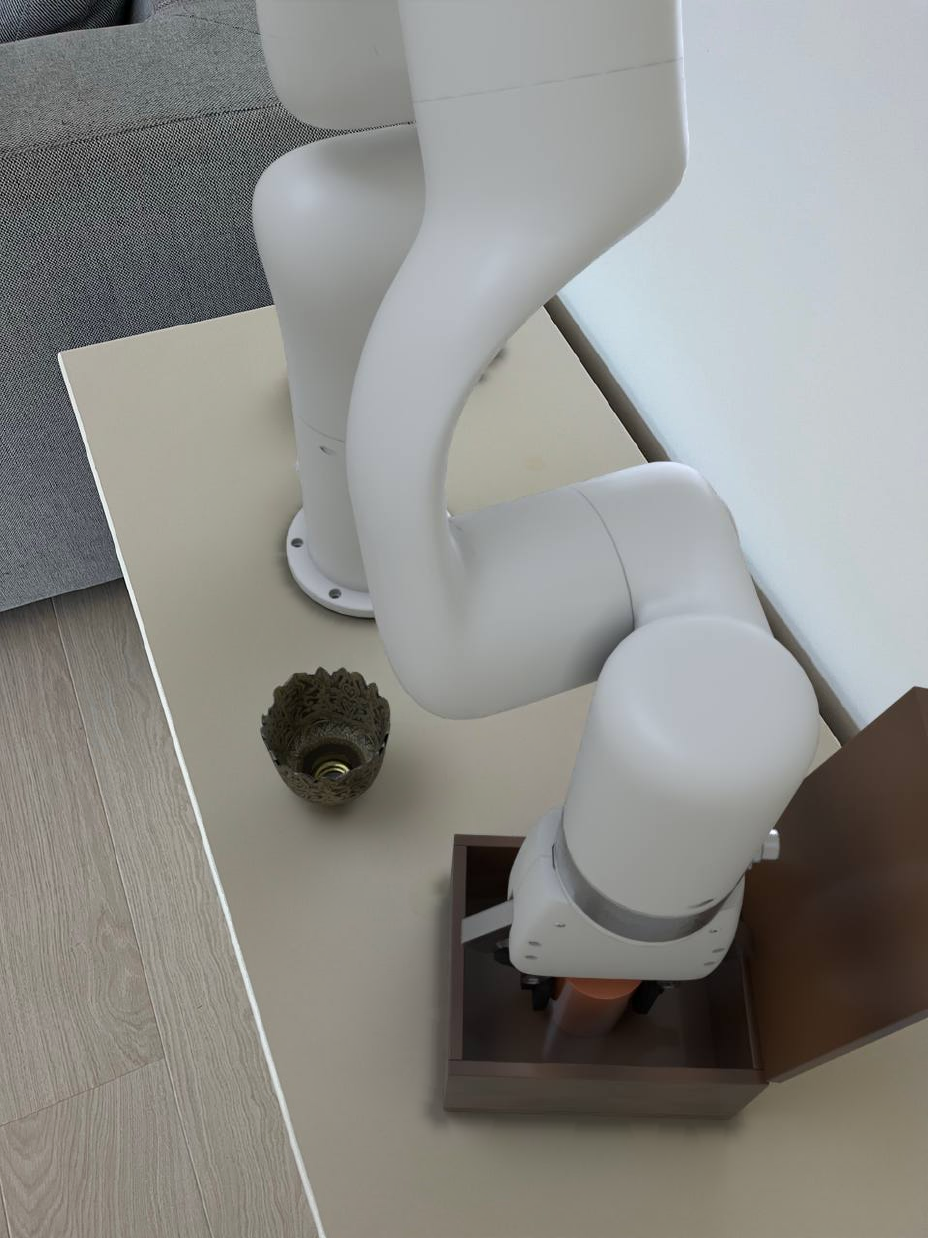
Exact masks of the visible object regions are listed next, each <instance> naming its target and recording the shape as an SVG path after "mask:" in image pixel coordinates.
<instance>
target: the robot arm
mask: <svg viewBox="0 0 928 1238" xmlns="http://www.w3.org/2000/svg"><path fill="white" fill-rule="evenodd" d="M254 1H255V9H256V17H257V24H258V31H259V37H260V43H261V48H262V53H263V58H264V61H265V66H266V70H267V74H268V76H269V79H270V82H271V85H272V88H273V90H274V93H275V95H276V96H277V98H278V99H279V101H280V103H281V104H282V106H283V108H284V109H285V110H286V111H287V112H288V113H289V114H291V115H292V116H293V117H295V118H296V120H298V121H300V122H301V123H303V124H306V125H309V126H312V127H314V128H317V129H325V130H333V131H334V130H335V131H346V130H348V131H349V130H362V129H368V130H363V131H358V132H351V133H346V134H341V135H336V136H331V137H328V138H323V139H319V140H315V141H313V142H309V143H307V144H305V145H304V144H303V145H301V146H299V147H296V148H294V149H292V150H290V151H288V152H286V153H284V154H282V155H281V156H279V158H277V159H276V160H274V161H273V162H272V163H271V164H269V166H268V167H266V168H265V170H264V171H263V173H261V175H260V177H259V179H258V181H257V182H256V185H255V188H254V192H253V196H252V203H251V204H252V205H251V217H252V226H253V234H254V238H255V242H256V247H257V252H258V254H259V258H260V261H261V265H262V268H263V271H264V275H265V278H266V282H267V284H268V287H269V291H270V294H271V298H272V301H273V305H274V308H275V311H276V316H277V319H278V324H279V328H280V333H281V338H282V343H283V349H284V356H285V363H286V371H287V378H288V387H289V392H290V393H289V394H290V395H289V396H290V402H291V411H292V412H291V413H292V420H293V421H292V422H293V429H294V439H295V447H296V455H297V460H296V461H295V463H294V468H295V470H296V471H297V472H298V474H299V481H300V490H301V500H302V507H301V508H300V509H299V510H298V512H297V513H296V514H295V516H294V518H293V520H292V522H291V524H290V526H289V528H288V532H287V537H286V556H287V563H288V567H289V570H290V572H291V575H292V577H293V579H294V581H295V582H296V583H297V585H298V586H299V588H300V589H301V590H302V591H303V592H304V593H305V594H306V595H307V596H308V597H309V598H311V600H312V601H314V602H315V603H318V604H319V605H320V606H322V607H325V608H326V609H328V610H331V611H334V612H337V613H338V614H341V615H347V616H350V617H356V618H369V619H370V618H371V619H372V618H373V619H375V623H376V627H377V630H378V634H379V636H380V640H381V642H382V646H383V649H384V653H385V655H386V658H387V662H388V663H389V665H390V668H391V670H392V672H393V674H394V676H395V678H396V679H397V681H398V683H399V685H400V686H401V687H402V689H403V691H404V692H405V693H406V694H407V695H408V697H410V699H412V701H413V702H415V704H416V705H417V706H419V707H420V708H422V710H424V711H426V712H428V713H430V714H432V715H434V716H436V717H439V718H441V719H445V720H453V721H465V720H466V721H467V720H476V719H483V718H487V717H490V716H494V715H497V714H501V713H504V712H508V711H511V710H515V709H518V708H521V707H524V706H528V705H530V704H534V703H536V702H539V701H542V700H545V699H548V698H550V697H554V696H557V695H559V694H562V693H565V692H569V691H571V690H574V689H577V688H581V687H584V686H587V685H590V684H592V683H596V684H595V686H594V690H593V693H592V698H591V701H590V705H589V709H588V713H587V717H586V721H585V724H584V729H583V732H582V736H581V740H580V744H579V747H578V751H577V755H576V759H575V763H574V767H573V771H572V773H571V777H570V780H569V781H570V782H569V785H568V788H567V792H566V796H565V800H564V803H563V805H561V806H555V807H552V808H550V809H549V810H548V811H546V812H545V813H544V814H543V815H542V816H541V817H540V818H539V819H538V820H537V822H535V824H534V825H533V827H532V828H531V829H530V831H529V832H528V834H527V835H526V836H527V837H526V839H525V840H524V842H523V844H522V846H521V848H520V850H519V853H518V855H517V857H516V860H515V862H514V865H513V867H512V871H511V874H510V878H509V886H508V900H507V901H506V902H504V903H501V904H499V905H496V906H494V907H491V908H489V909H487V910H484V911H482V912H479V913H477V914H474V915H472V916H469V917H467V918H465V919H463V920H462V924H461V945H462V946H463V947H465V948H468V949H472V950H475V951H478V952H481V953H484V954H489V953H493V954H494V960H495V961H497V962H499V963H500V964H502V965H507V966H510V967H512V968H515V969H517V970H520V971H521V990H532V1007H533V1011H543V1008H544V1009H546V1008H547V1005H548V1002H549V999H550V996H551V994H552V991H553V976H555V977H577V978H603V979H635V980H642V982H641V984H640V986H639V987H638V989H637V991H636V993H635V995H634V996H633V998H632V1005H633V1011H636V1012H637V1014H647V1013H648V1012H649V1010H650V1009H651V1007H652V1005H653V1004H654V1002H655V1000H656V999H657V997H658V996H659V994H662V993H663V992H664V990H665V989H673V988H678V987H680V986H681V980H692V979H700V978H703V977H705V976H707V975H708V974H710V973H711V972H712V971H713V970H714V969H715V968H716V967H717V966H718V965H719V964H720V963H721V962H726V961H731V960H737V959H742V958H747V957H752V956H754V955H755V954H756V950H755V943H754V936H753V930H752V929H751V928H750V927H749V926H747V925H746V924H745V923H743V922H742V921H741V920H739V916H740V911H741V907H742V901H743V894H744V883H745V873H746V871H747V870H748V869H752V864H759V863H760V862H761V861H770V862H776V861H777V860H778V858H779V854H780V839H779V834H778V832H777V830H776V829H773V827H774V826H775V824H776V823H777V821H778V819H779V818H780V816H781V815H782V813H783V812H784V810H785V808H786V807H787V805H788V804H789V802H790V801H791V799H792V797H793V796H794V794H795V793H796V791H797V790H798V788H799V786H800V785H801V783H802V782H803V780H804V778H806V777H807V774H808V773H809V770H810V768H811V766H812V764H813V762H814V760H815V757H816V753H817V750H818V746H819V743H820V742H819V741H820V734H821V733H820V732H821V716H820V710H819V709H820V708H819V703H818V699H817V694H816V692H815V690H814V686H813V684H812V683H811V680H810V679H809V677H808V675H807V673H806V671H805V670H804V668H803V666H801V664H800V663H799V662H798V660H797V659H796V658H795V657H794V655H793V654H792V653H791V652H790V651H789V650H788V649H787V648H786V647H785V646H784V645H783V644H782V643H781V642H780V641H779V640H778V639H776V638H775V637H774V634H773V632H772V629H771V627H770V625H769V621H768V619H767V617H766V613H765V611H764V609H763V606H762V603H761V601H760V598H759V596H758V594H757V590H756V588H755V584H754V582H753V578H752V576H751V573H750V571H749V567H748V564H747V561H746V558H745V556H744V553H743V550H742V547H741V541H740V535H739V531H738V527H737V524H736V520H735V517H734V516H733V513H732V511H731V509H730V508H729V506H728V504H727V503H726V502H725V500H724V499H723V498H722V497H721V496H720V495H719V493H718V492H717V491H716V490H715V488H714V487H713V485H712V484H711V482H710V481H709V480H708V479H707V478H706V477H705V476H704V475H702V473H700V471H698V470H696V469H695V468H693V467H691V466H689V465H687V464H685V463H681V462H677V461H671V460H670V461H653V462H648V463H647V462H646V463H642V464H637V465H634V466H631V467H627V468H623V469H620V470H619V469H618V470H616V471H613V472H612V471H611V472H609V473H605V474H602V475H598V476H595V477H593V478H592V477H591V478H588V479H584V480H580V481H578V482H574V483H570V484H566V485H564V486H560V487H557V488H553V489H549V490H545V491H541V492H538V493H533V494H529V495H527V496H523V497H519V498H516V499H515V498H514V499H511V500H508V501H505V502H501V503H497V504H494V505H493V504H492V505H490V506H486V507H482V508H478V509H474V510H471V511H467V512H463V513H459V514H456V515H451V514H450V512H449V511H448V510H447V494H446V481H447V473H448V472H447V471H448V461H449V452H450V449H451V445H452V441H453V437H454V433H455V430H456V427H457V424H458V422H459V419H460V417H461V415H462V413H463V410H464V408H465V406H466V404H467V401H468V399H469V398H470V395H471V394H472V392H473V391H474V389H475V387H476V385H477V384H478V383H479V381H480V379H481V377H482V376H483V374H484V373H485V371H486V370H487V368H488V366H489V365H490V364H491V363H492V362H493V360H494V359H495V358H496V356H497V355H498V354H499V352H500V351H501V350H502V349H503V348H504V346H505V345H506V344H507V342H508V341H509V340H510V339H511V338H512V337H513V336H514V335H515V334H516V333H517V332H518V331H519V330H520V329H521V328H522V327H523V326H524V325H525V324H526V323H527V321H528V320H529V319H531V317H532V316H534V315H535V314H536V313H537V312H538V311H539V310H540V309H541V308H542V307H543V306H544V305H546V304H547V303H548V302H549V301H550V300H551V299H552V298H553V297H554V296H555V295H557V294H558V293H559V292H560V291H561V290H562V289H563V288H564V287H566V286H567V285H569V283H570V282H572V281H573V280H574V279H575V278H576V277H577V276H578V275H580V274H581V273H582V272H583V271H584V270H586V269H587V268H588V267H589V266H591V265H592V264H593V263H594V262H595V261H597V260H598V259H600V258H601V257H602V256H604V254H606V253H607V252H608V251H610V250H611V249H613V248H614V247H615V246H616V245H617V244H619V243H620V242H622V241H623V240H625V239H626V238H628V236H630V235H631V234H632V233H633V232H634V231H636V230H638V229H639V228H640V227H641V226H643V225H644V224H645V223H646V222H648V221H649V220H650V219H652V218H653V217H655V215H656V214H657V213H658V212H659V211H660V210H661V209H663V207H664V206H665V205H666V204H667V203H668V202H670V200H671V199H672V198H673V197H674V196H675V194H676V192H677V191H678V189H679V188H680V187H681V185H682V183H683V182H684V179H685V176H686V173H687V170H688V166H689V162H690V137H689V122H688V120H689V119H688V108H687V107H688V106H687V94H686V93H687V91H686V74H685V52H684V51H685V50H684V32H683V31H684V29H683V11H682V9H683V8H682V0H254ZM410 122H414V123H410ZM408 123H410V124H408ZM379 127H380V128H379ZM372 128H375V129H372Z"/></svg>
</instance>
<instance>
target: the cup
mask: <svg viewBox="0 0 928 1238" xmlns="http://www.w3.org/2000/svg"><path fill="white" fill-rule="evenodd" d="M272 697H273V703H272V704H271V706H269V707H268V709H267V714H266V715H265V714H264V713H261V719H260V720H261V723H262V725H261V727H259V731H260V732H259V733H260V736H261V739H262V742H263V744H264V745H265V747H266V750H267V752H268V754H269V757H270V759H271V761H272V763H273V765H274V767H275V769H276V771H277V773H278V775H279V776H280V778H281V780H282V782H283V783H284V785H286V787H287V788H288V789H289V790H290V791H291V792H292V793H293V794H294V795H295V796H297V797H298V798H300V799H301V800H304V801H305V802H308V803H311V804H314V805H317V806H324V807H325V806H326V807H331V806H333V807H334V806H339V805H340V806H341V805H344V804H347V803H351V802H352V801H353V800H355V799H357V798H359V797H360V796H362V795H363V794H365V793H366V791H368V789H369V788H371V786H372V785H373V784H374V782H375V780H376V779H377V777H378V776H379V773H380V771H381V769H382V766H383V763H384V759H385V755H386V752H387V751H386V750H387V746H388V740H389V735H390V732H391V726H392V725H391V724H392V723H391V706H390V703H389V700H388V699H387V698H385V697H384V696H382V695H380V693H379V687H378V685H377V684H376V682H375V681H373V682H370V683H368V685H367V681H366V680H365V677H364V676H363V674H361V673H360V672H359V671H351V672H350V671H348V670H347V668H346V667H344V666H343V667H340V668H337V670H336V671H332V673H331V674H330V672H328V670H327V669H325V668H324V667H322V666H318V668H317V669H316V671H315V672H314V673H311V674H309V673H308V672H306V671H305V672H294V673H293V674H291V675H290V676H289V678H288V679H287V680H286V681H285V682H284V684H283V685H278V686H276V687H275V688H274V689H273V692H272ZM331 772H336V773H339V775H338V776H336V777H332V776H325V775H327V774H328V773H331Z"/></svg>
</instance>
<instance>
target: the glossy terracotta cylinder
mask: <svg viewBox="0 0 928 1238" xmlns="http://www.w3.org/2000/svg"><path fill="white" fill-rule="evenodd" d="M641 982H642V980H635V979H603V978H577V977H555V976H553V991H552V994H551V996H550V999H549V1002H548V1005H547V1008H546V1009H545V1010H546V1012H547V1014H548V1015H549V1017H550V1018H551V1019H552V1021H553V1022H554V1023H555V1024H556V1025H557V1026H558V1027H559V1028H561V1029H562V1030H564V1031H565V1032H567V1033H569V1034H572V1035H574V1036H578V1037H586V1038H587V1037H596V1036H600V1035H603V1034H605V1033H607V1032H608V1031H610V1030H611V1029H613V1028H614V1027H615V1026H616V1025H617V1024H618V1022H619V1021H620V1019H621V1018H622V1016H623V1014H624V1012H625V1011H626V1009H627V1007H628V1005H629V1003H630V1002H631V1000H632V998H633V996H634V995H635V993H636V991H637V989H638V987H639V986H640V984H641Z"/></svg>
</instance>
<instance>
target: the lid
mask: <svg viewBox="0 0 928 1238" xmlns="http://www.w3.org/2000/svg"><path fill="white" fill-rule="evenodd" d="M773 829H776V830H777V832H778V834H779V839H780V854H779V858H778V860H777V861H776V862H770V861H761V862H760V863H759V864H752V869H748V870H747V871H746V873H745V883H744V894H743V901H742V912H743V919H744V923H745V924H746V925H747V926H749V927H750V928H751V929H752V930H753V936H754V943H755V950H756V954H755V955H754V956H752V957H749V963H750V970H751V977H752V984H753V992H754V999H755V1006H756V1013H757V1021H758V1028H759V1035H760V1042H761V1050H762V1057H763V1064H764V1071H765V1079H766V1081H767V1082H770V1083H774V1084H781V1083H783V1082H787V1081H788V1080H790V1079H793V1078H795V1077H797V1076H799V1075H802V1074H804V1073H806V1072H808V1071H810V1070H813V1069H815V1068H817V1067H820V1066H822V1065H824V1064H827V1063H828V1062H831V1061H833V1060H835V1059H838V1058H840V1057H842V1056H844V1055H846V1054H849V1053H851V1052H853V1051H856V1050H858V1049H860V1048H863V1047H865V1046H867V1045H870V1044H872V1043H874V1042H876V1041H878V1040H881V1039H883V1038H885V1037H888V1036H890V1035H892V1034H895V1033H896V1032H899V1031H901V1030H904V1029H906V1028H908V1027H910V1026H912V1025H915V1024H917V1023H920V1022H921V1021H923V1020H925V1019H928V688H927V687H923V686H918V685H914V686H912V687H911V688H910V689H908V690H907V691H906V692H905V693H904V694H903V695H902V696H901V697H899V698H897V700H896V701H895V702H893V703H892V704H891V705H890V706H889V707H887V708H886V709H885V710H884V711H882V712H881V713H880V714H879V715H878V716H877V717H875V718H874V719H873V720H872V721H870V723H868V724H867V725H866V726H865V727H863V729H861V730H860V731H859V732H858V733H857V734H855V735H854V736H853V737H852V738H851V739H849V740H848V741H847V742H846V743H845V744H843V745H842V746H841V747H840V748H839V749H837V750H836V751H835V752H834V753H833V754H832V755H831V756H829V757H828V758H827V759H826V760H825V761H823V762H822V763H820V765H819V766H817V767H816V768H815V769H814V770H812V772H810V773H809V774H808V775H806V776H805V778H804V780H803V782H802V783H801V785H800V786H799V788H798V790H797V791H796V793H795V794H794V796H793V797H792V799H791V801H790V802H789V804H788V805H787V807H786V808H785V810H784V812H783V813H782V815H781V816H780V818H779V819H778V821H777V823H776V824H775V826H774V827H773Z"/></svg>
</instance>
